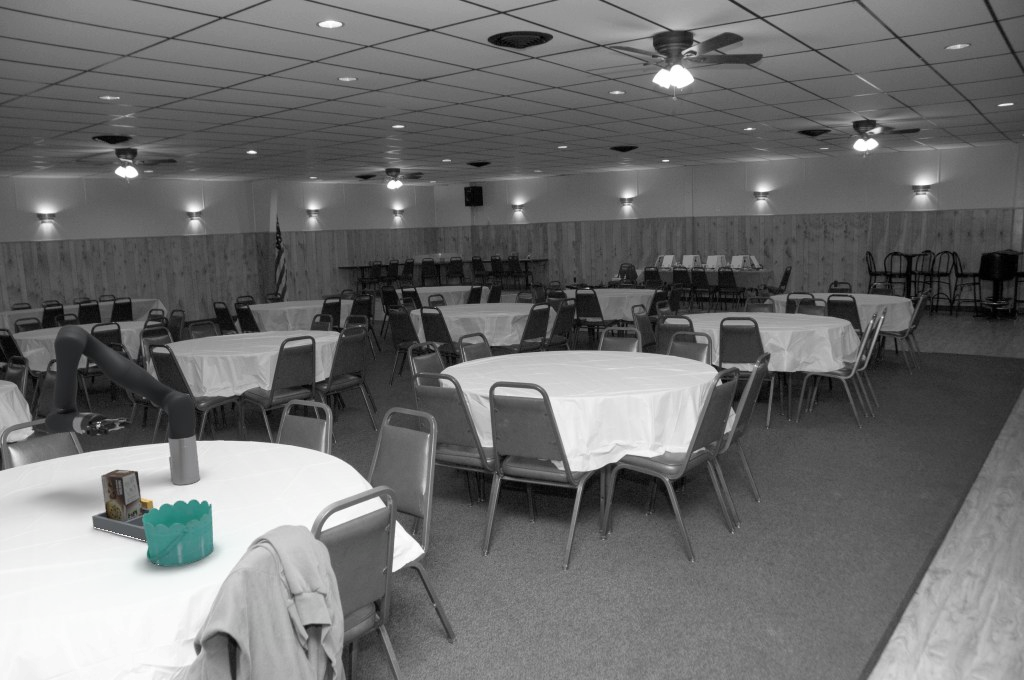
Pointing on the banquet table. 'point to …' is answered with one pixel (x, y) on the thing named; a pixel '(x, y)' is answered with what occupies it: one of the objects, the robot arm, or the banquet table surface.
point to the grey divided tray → (128, 527)
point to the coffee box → (122, 495)
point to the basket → (179, 532)
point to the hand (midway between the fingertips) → (119, 428)
